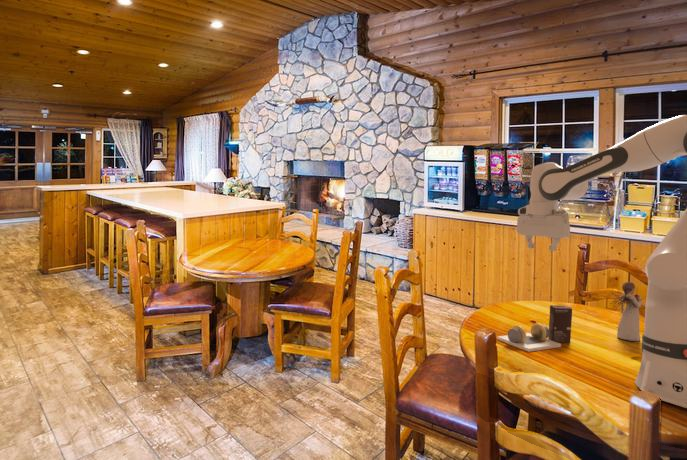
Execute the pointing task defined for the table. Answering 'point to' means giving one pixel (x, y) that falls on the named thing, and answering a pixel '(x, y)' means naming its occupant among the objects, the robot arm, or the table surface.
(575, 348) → the table surface
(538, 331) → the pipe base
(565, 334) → the box
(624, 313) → the figurine
